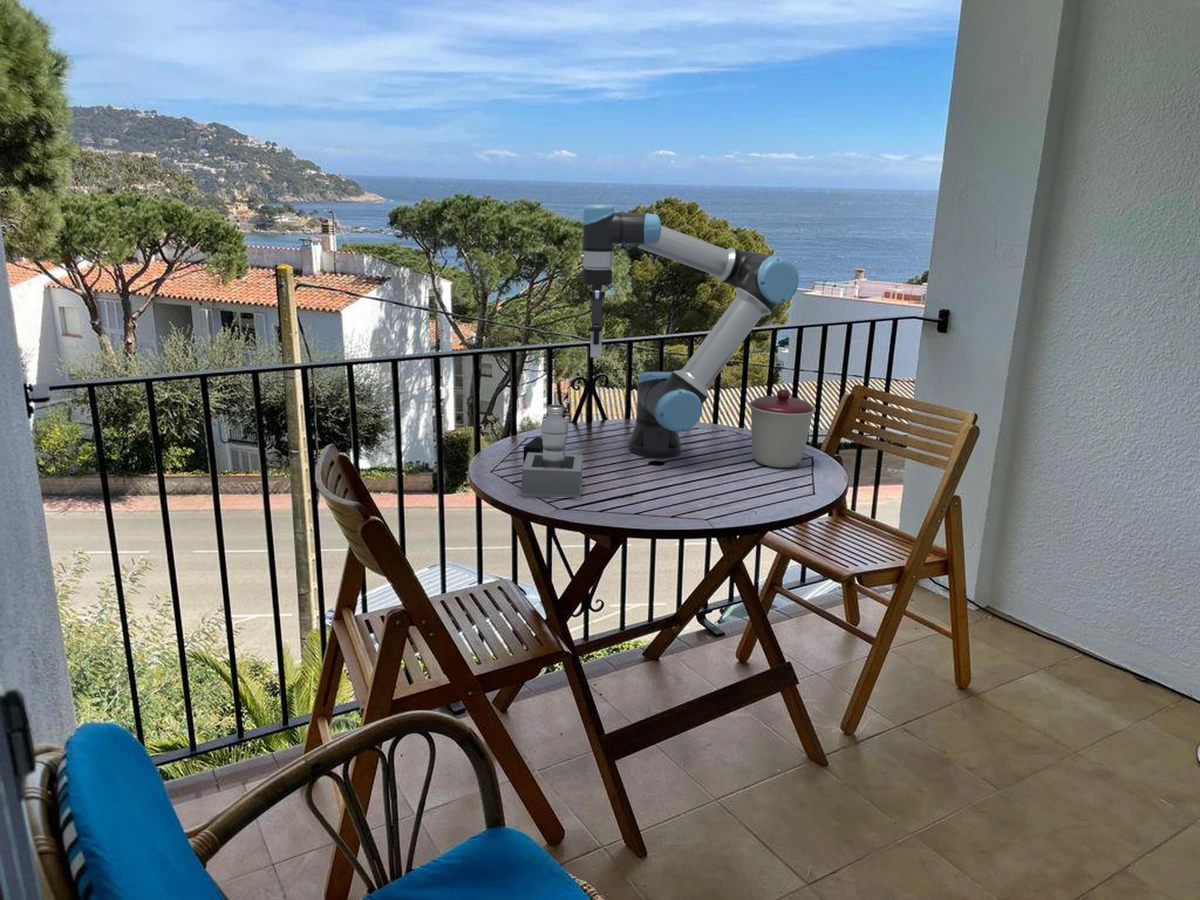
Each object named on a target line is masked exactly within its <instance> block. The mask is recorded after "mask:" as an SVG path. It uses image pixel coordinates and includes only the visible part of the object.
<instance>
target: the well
mask: <svg viewBox="0 0 1200 900" xmlns="http://www.w3.org/2000/svg"><path fill="white" fill-rule="evenodd" d="M542 457H543V453H531V452H528V453H527V456H526V459H525V462H524V465H522V469H521V498H533V497H535V498H536V497H538V498H540V497H543V498H542V499H545V498H544V497H573V498H580V499H581V494H580V493H581V492H582V485H581V484H583V466H584V465H583V460H584V458H583V457H584V455H583V454H580V453H579V454H576V453H575V454H574V453H573V454H572V453H565V467H566V469H565V468H541V466H542ZM540 499H541V498H540Z"/></svg>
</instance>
